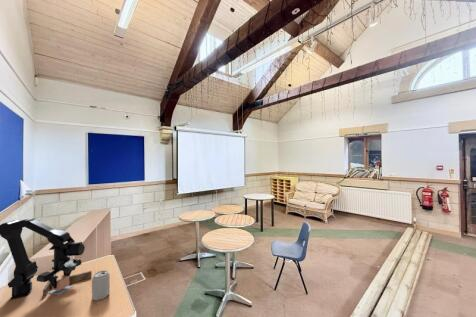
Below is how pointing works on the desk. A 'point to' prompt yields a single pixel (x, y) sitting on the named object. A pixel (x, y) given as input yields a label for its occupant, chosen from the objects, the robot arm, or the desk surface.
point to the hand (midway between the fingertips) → (60, 285)
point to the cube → (62, 282)
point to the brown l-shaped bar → (71, 279)
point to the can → (100, 285)
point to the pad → (60, 290)
